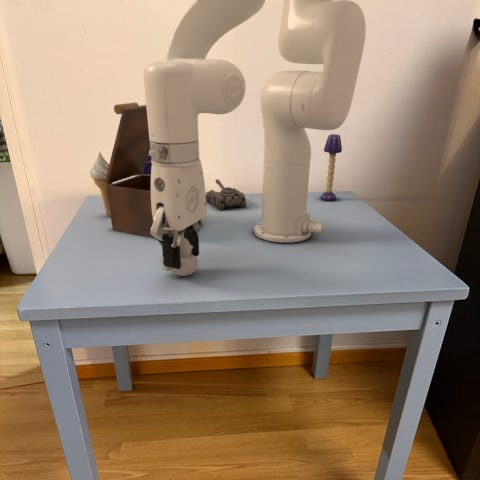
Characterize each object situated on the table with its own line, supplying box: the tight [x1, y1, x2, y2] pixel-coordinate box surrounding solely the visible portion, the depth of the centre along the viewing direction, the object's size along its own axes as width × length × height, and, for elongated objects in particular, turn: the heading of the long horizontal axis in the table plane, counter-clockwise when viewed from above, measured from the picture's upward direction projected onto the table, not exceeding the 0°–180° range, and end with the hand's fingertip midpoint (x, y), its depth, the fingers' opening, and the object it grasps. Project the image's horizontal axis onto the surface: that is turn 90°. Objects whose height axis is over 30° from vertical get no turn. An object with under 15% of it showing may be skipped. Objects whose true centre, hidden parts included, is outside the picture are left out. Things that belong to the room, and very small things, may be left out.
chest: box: [107, 174, 202, 239], centre depth 101 cm, size 16×13×10 cm
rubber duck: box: [160, 232, 199, 277], centre depth 79 cm, size 5×7×8 cm
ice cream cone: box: [89, 151, 114, 217], centre depth 106 cm, size 6×6×15 cm
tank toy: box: [205, 178, 247, 211], centre depth 119 cm, size 12×10×5 cm
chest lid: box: [105, 102, 151, 184], centre depth 96 cm, size 16×13×5 cm
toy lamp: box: [320, 133, 343, 202], centre depth 121 cm, size 5×5×17 cm
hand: (181, 259), depth 79 cm, fingers closed on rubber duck, 5 cm apart
